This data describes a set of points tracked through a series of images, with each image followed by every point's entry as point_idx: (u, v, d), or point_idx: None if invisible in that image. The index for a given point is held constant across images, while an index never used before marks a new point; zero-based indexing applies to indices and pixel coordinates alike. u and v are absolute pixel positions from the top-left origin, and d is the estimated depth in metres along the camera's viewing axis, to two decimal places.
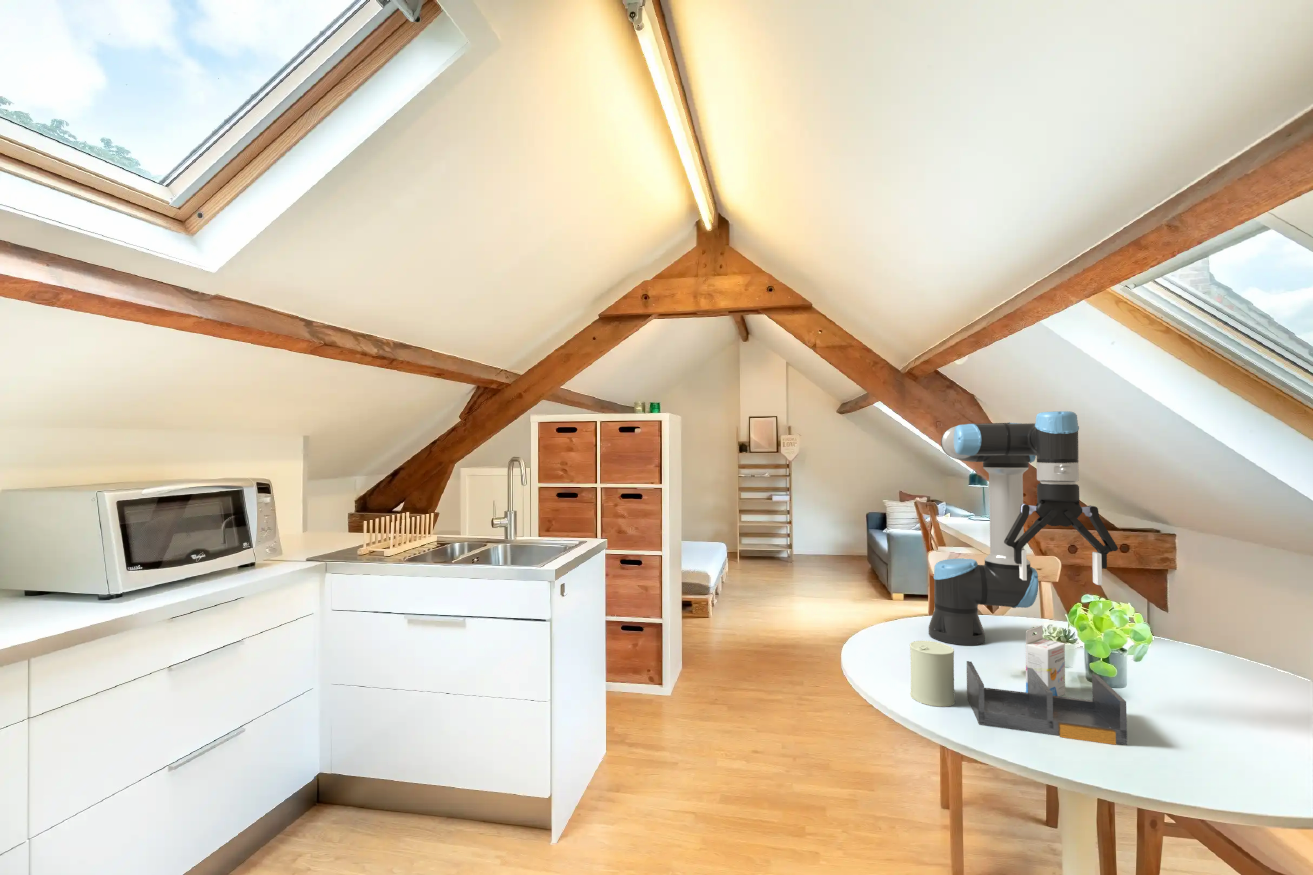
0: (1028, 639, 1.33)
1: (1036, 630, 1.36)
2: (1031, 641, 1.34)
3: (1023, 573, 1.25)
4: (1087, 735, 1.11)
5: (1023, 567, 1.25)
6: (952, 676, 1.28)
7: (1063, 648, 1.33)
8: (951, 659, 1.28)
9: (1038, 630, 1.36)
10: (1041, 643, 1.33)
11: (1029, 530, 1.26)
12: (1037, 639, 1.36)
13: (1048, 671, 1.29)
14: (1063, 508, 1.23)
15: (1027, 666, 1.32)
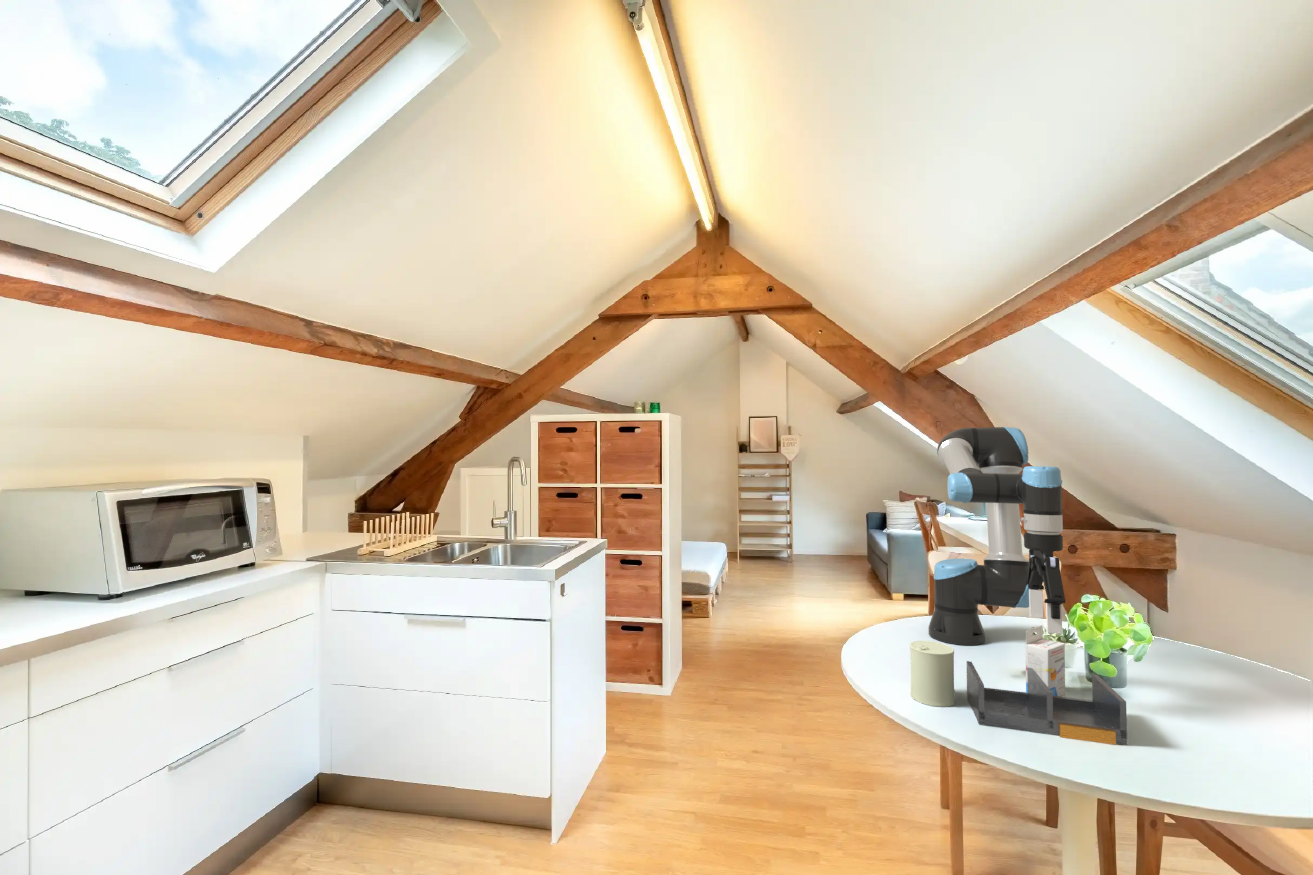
0: (1028, 639, 1.33)
1: (1036, 630, 1.36)
2: (1031, 641, 1.34)
3: None
4: (1087, 735, 1.11)
5: (1029, 605, 1.40)
6: (952, 676, 1.28)
7: (1063, 648, 1.33)
8: (951, 659, 1.28)
9: (1038, 630, 1.36)
10: (1041, 643, 1.33)
11: None
12: (1037, 639, 1.36)
13: (1048, 671, 1.29)
14: (1038, 556, 1.33)
15: (1027, 666, 1.32)
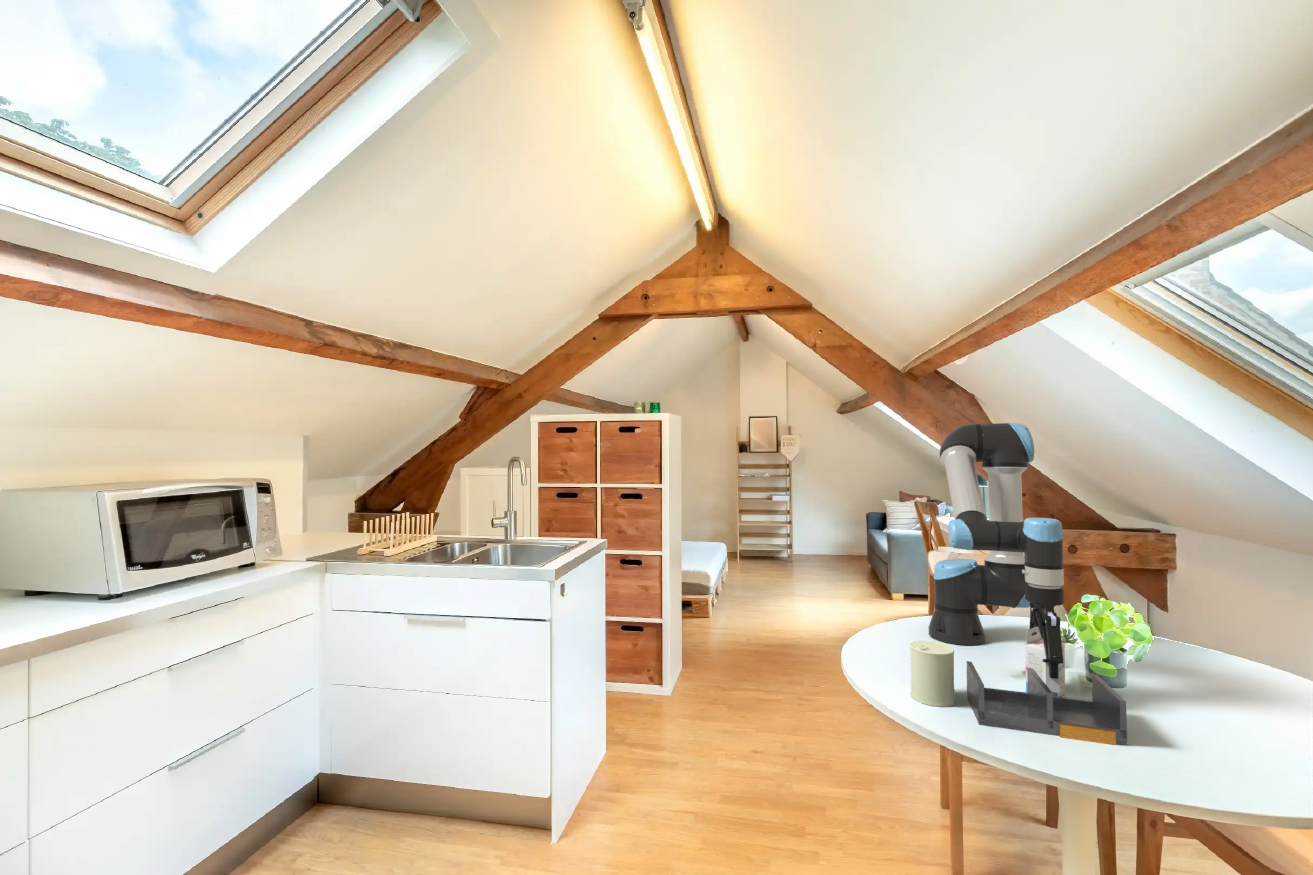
0: (1028, 639, 1.33)
1: (1036, 630, 1.36)
2: (1031, 641, 1.34)
3: None
4: (1087, 735, 1.11)
5: None
6: (952, 676, 1.28)
7: (1063, 648, 1.33)
8: (951, 659, 1.28)
9: (1038, 630, 1.36)
10: (1041, 643, 1.33)
11: None
12: (1037, 639, 1.36)
13: None
14: (1039, 607, 1.33)
15: (1027, 666, 1.32)
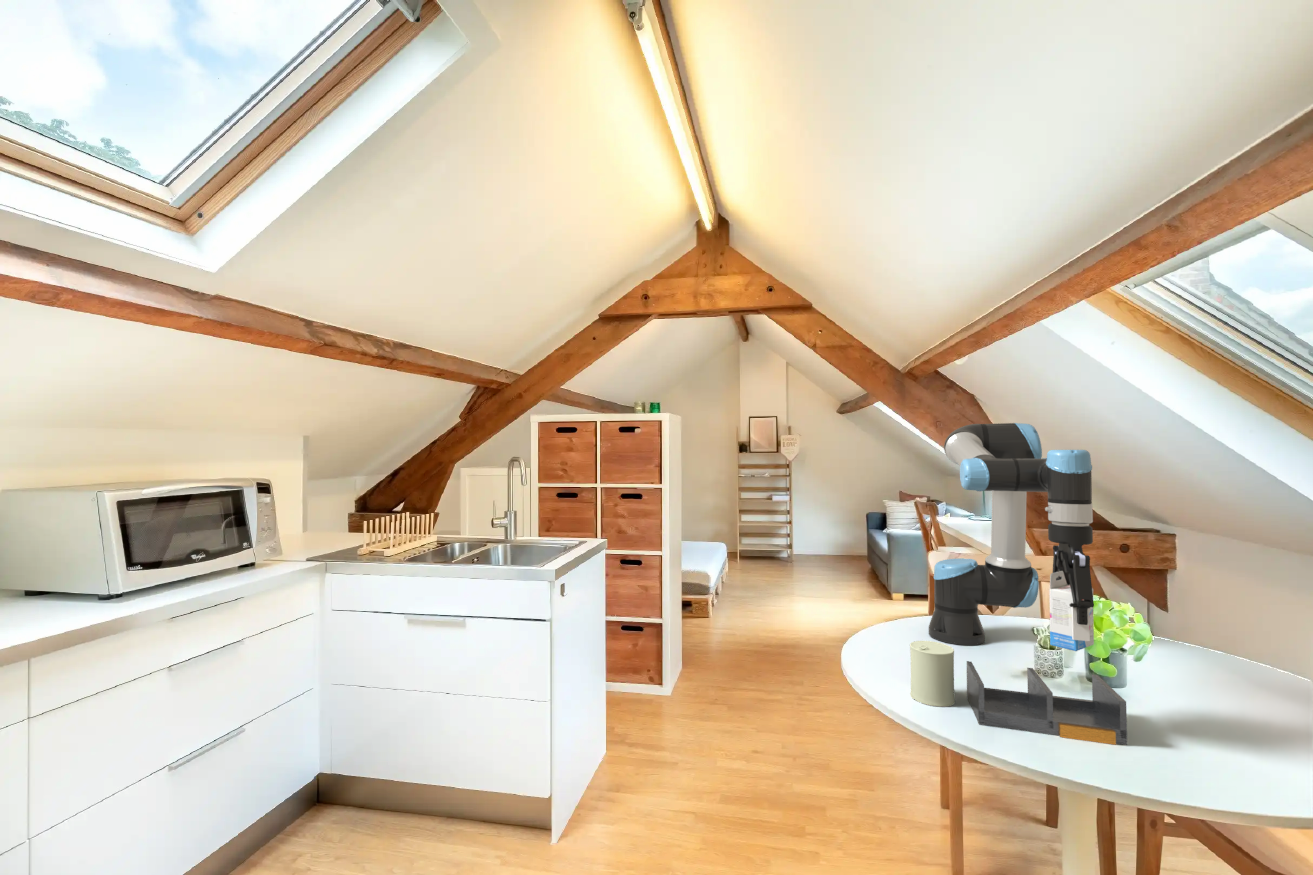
0: (1052, 583, 1.19)
1: (1061, 574, 1.22)
2: (1055, 586, 1.20)
3: None
4: (1087, 735, 1.11)
5: None
6: (952, 676, 1.28)
7: None
8: (951, 659, 1.28)
9: (1063, 574, 1.22)
10: (1067, 588, 1.19)
11: None
12: (1062, 584, 1.22)
13: None
14: (1065, 547, 1.19)
15: (1051, 613, 1.18)
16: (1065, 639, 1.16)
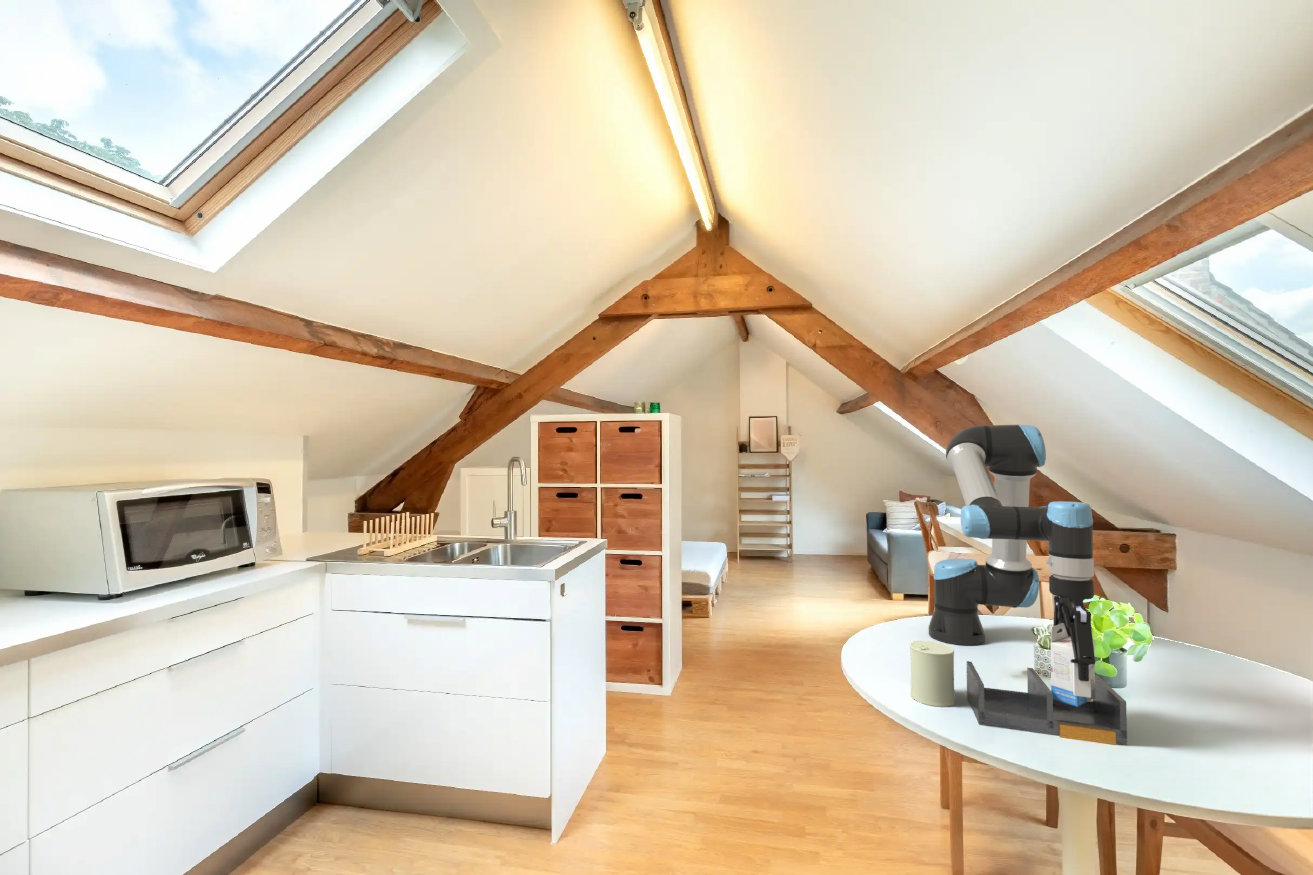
0: (1053, 637, 1.19)
1: (1062, 626, 1.21)
2: (1056, 639, 1.20)
3: None
4: (1087, 735, 1.11)
5: None
6: (952, 676, 1.28)
7: None
8: (951, 659, 1.28)
9: (1064, 626, 1.22)
10: (1068, 641, 1.19)
11: None
12: (1063, 637, 1.22)
13: None
14: (1066, 601, 1.19)
15: (1052, 667, 1.18)
16: (1066, 694, 1.16)
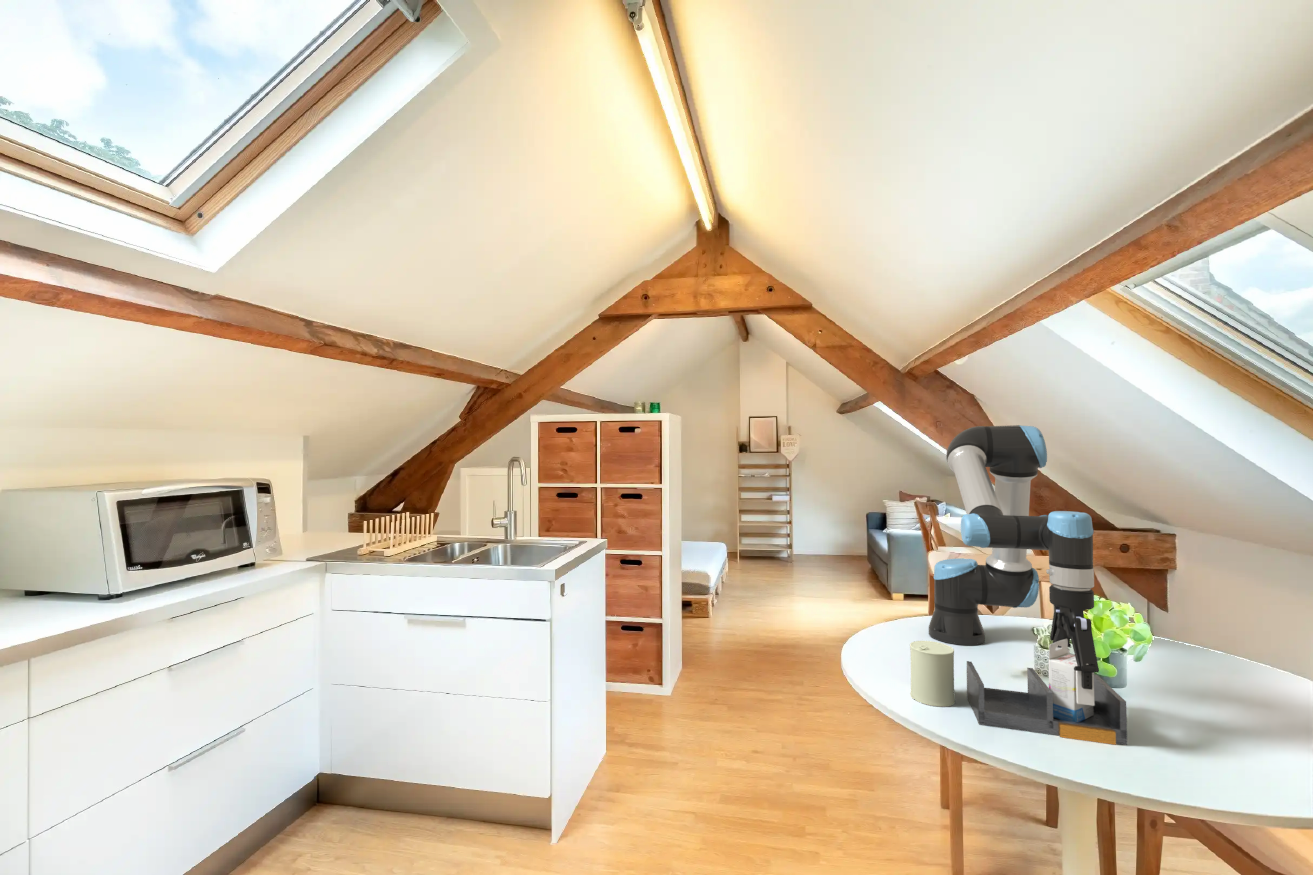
0: (1051, 654, 1.20)
1: (1061, 644, 1.22)
2: (1055, 656, 1.21)
3: None
4: (1087, 735, 1.11)
5: None
6: (952, 676, 1.28)
7: None
8: (951, 659, 1.28)
9: (1062, 643, 1.23)
10: (1066, 658, 1.20)
11: None
12: (1062, 654, 1.22)
13: (1075, 691, 1.16)
14: (1066, 613, 1.19)
15: (1050, 684, 1.19)
16: (1064, 711, 1.17)
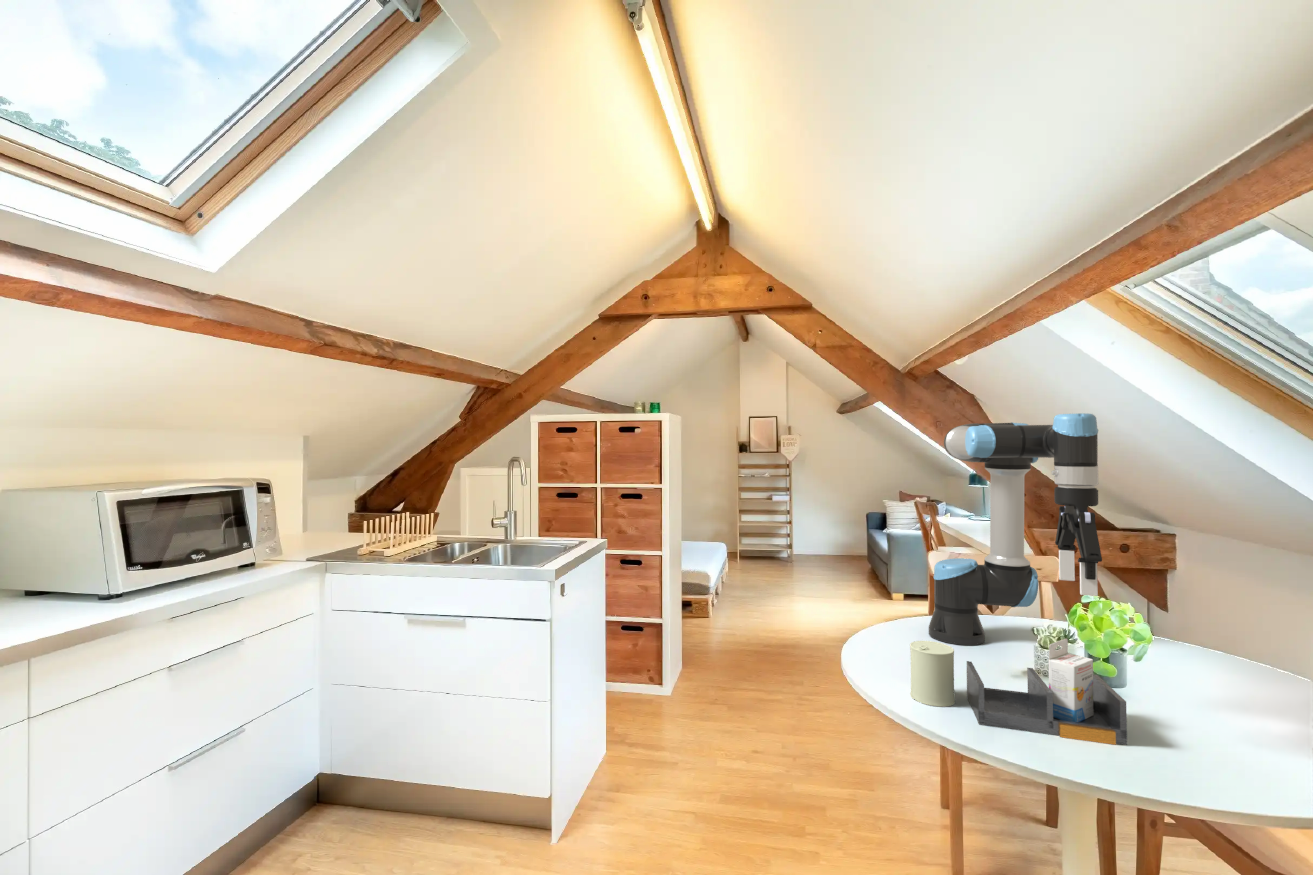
0: (1051, 654, 1.20)
1: (1061, 644, 1.22)
2: (1055, 656, 1.21)
3: None
4: (1087, 735, 1.11)
5: (1059, 566, 1.29)
6: (952, 676, 1.28)
7: (1091, 664, 1.19)
8: (951, 659, 1.28)
9: (1062, 643, 1.23)
10: (1066, 658, 1.20)
11: None
12: (1062, 654, 1.22)
13: (1075, 691, 1.15)
14: (1071, 512, 1.21)
15: (1050, 684, 1.19)
16: (1064, 711, 1.17)
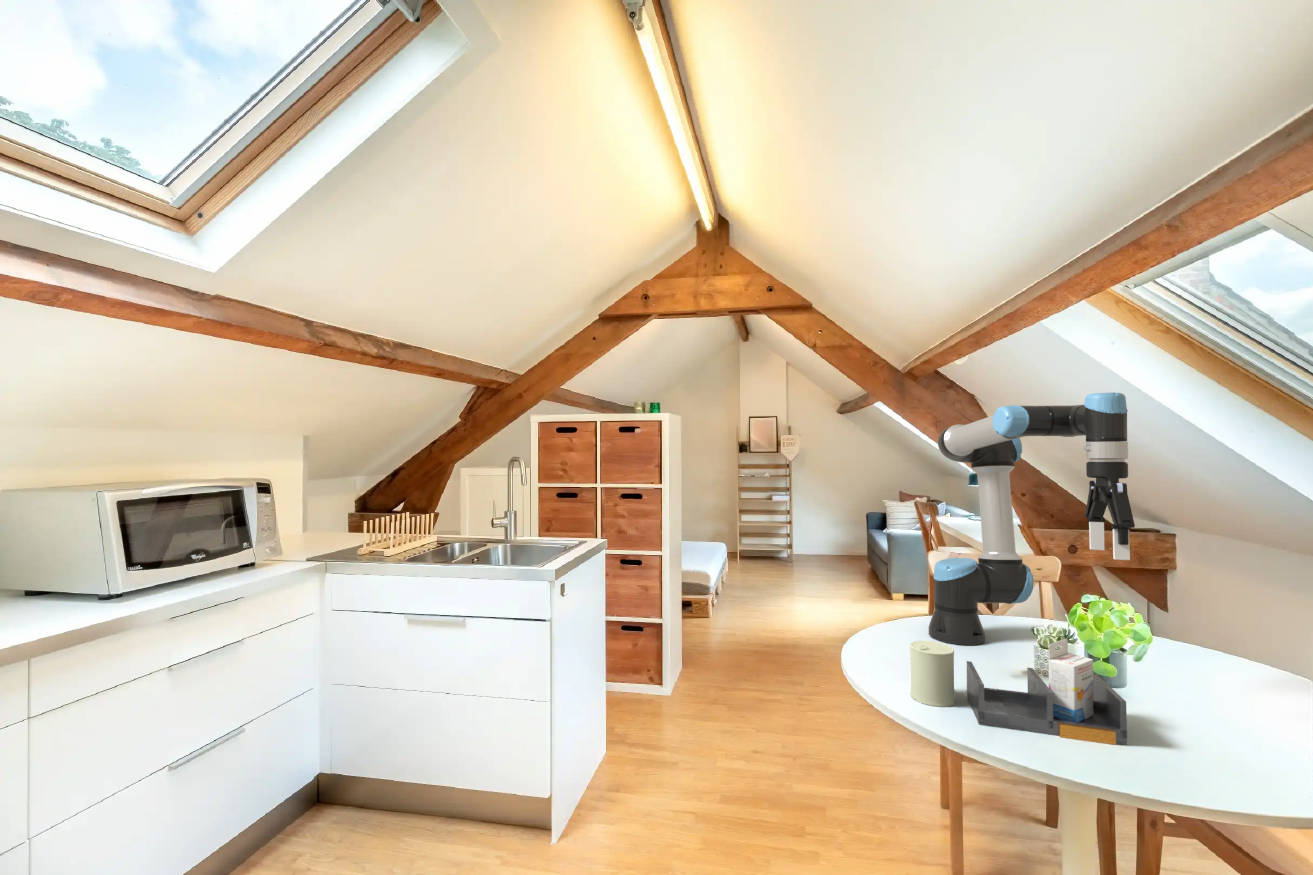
0: (1051, 654, 1.20)
1: (1061, 644, 1.22)
2: (1055, 656, 1.21)
3: None
4: (1087, 735, 1.11)
5: (1089, 537, 1.38)
6: (952, 676, 1.28)
7: (1091, 664, 1.19)
8: (951, 659, 1.28)
9: (1062, 643, 1.23)
10: (1066, 658, 1.20)
11: None
12: (1062, 654, 1.22)
13: (1075, 691, 1.15)
14: (1102, 484, 1.31)
15: (1050, 684, 1.19)
16: (1064, 711, 1.17)
